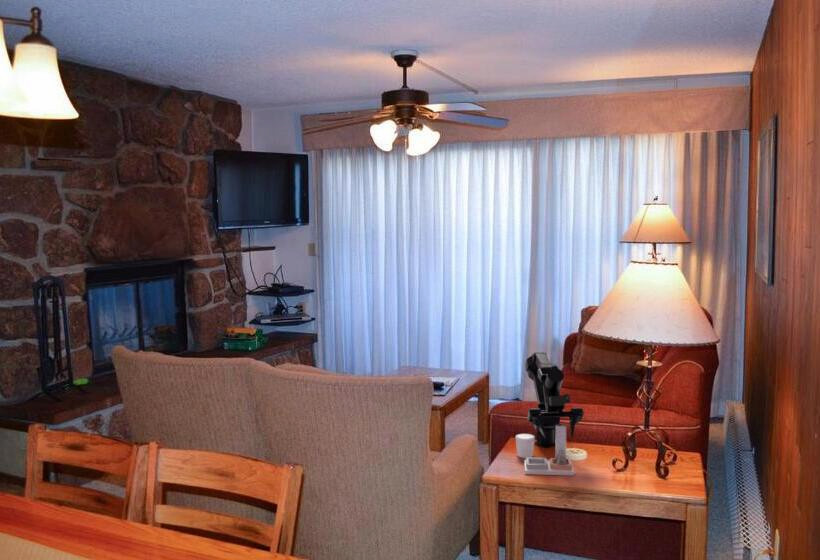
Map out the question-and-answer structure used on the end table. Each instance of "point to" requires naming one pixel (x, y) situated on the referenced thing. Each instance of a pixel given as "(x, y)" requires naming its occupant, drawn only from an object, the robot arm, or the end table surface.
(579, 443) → the end table surface
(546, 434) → the robot arm
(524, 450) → the white cup
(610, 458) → the end table surface
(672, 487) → the end table surface
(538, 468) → the grey compartment tray
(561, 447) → the steel pin
